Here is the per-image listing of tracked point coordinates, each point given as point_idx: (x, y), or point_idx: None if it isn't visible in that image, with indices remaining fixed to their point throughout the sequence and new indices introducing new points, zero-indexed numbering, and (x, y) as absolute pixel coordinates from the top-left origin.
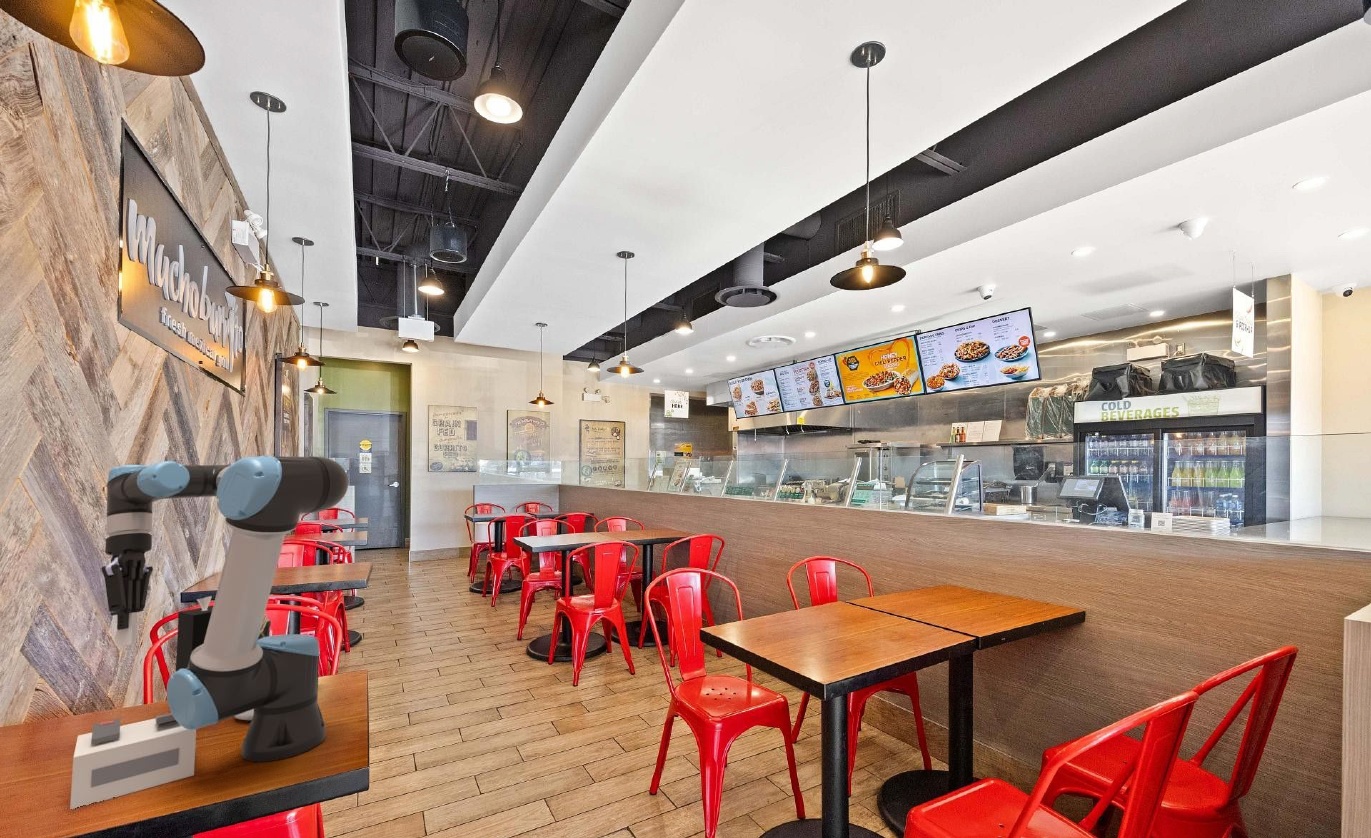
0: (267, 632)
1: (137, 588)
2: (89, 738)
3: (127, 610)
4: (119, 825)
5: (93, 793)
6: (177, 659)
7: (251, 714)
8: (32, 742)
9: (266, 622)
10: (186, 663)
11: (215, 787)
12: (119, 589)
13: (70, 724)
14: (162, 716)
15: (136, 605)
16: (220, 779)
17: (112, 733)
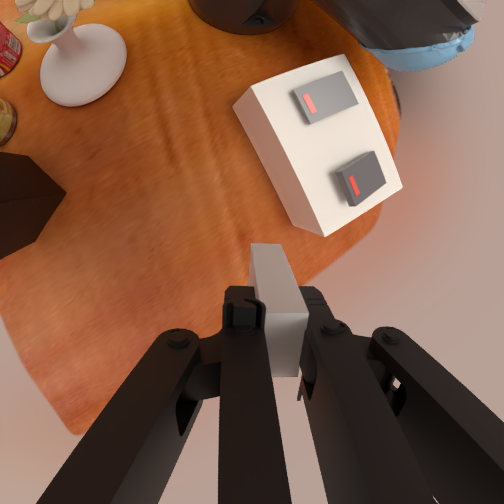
0: None
1: (264, 464)
2: (344, 207)
3: (347, 327)
4: (400, 115)
5: None
6: None
7: (124, 57)
8: None
9: None
10: (8, 222)
11: (346, 45)
12: (488, 410)
13: (64, 381)
14: (346, 99)
15: (263, 346)
16: (328, 43)
17: (375, 160)
